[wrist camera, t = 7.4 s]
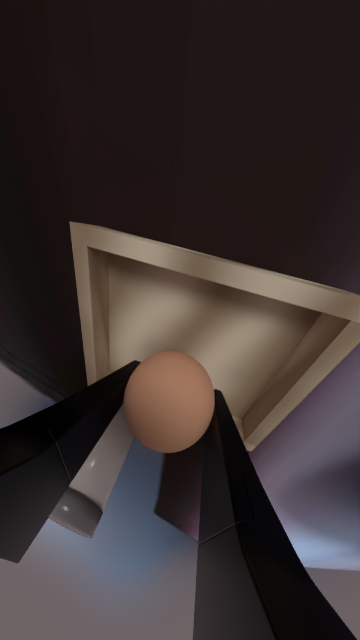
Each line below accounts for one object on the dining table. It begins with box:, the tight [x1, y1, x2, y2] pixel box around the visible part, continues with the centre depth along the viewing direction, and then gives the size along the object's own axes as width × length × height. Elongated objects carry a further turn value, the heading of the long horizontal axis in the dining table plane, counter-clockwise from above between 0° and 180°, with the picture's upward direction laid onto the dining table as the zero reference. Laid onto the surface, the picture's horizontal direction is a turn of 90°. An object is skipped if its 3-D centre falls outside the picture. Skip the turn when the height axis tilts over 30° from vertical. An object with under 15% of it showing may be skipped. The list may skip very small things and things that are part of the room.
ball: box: [124, 351, 215, 453], centre depth 8 cm, size 5×5×5 cm
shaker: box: [48, 403, 135, 538], centre depth 16 cm, size 5×5×9 cm
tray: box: [70, 222, 360, 452], centre depth 12 cm, size 16×14×2 cm
